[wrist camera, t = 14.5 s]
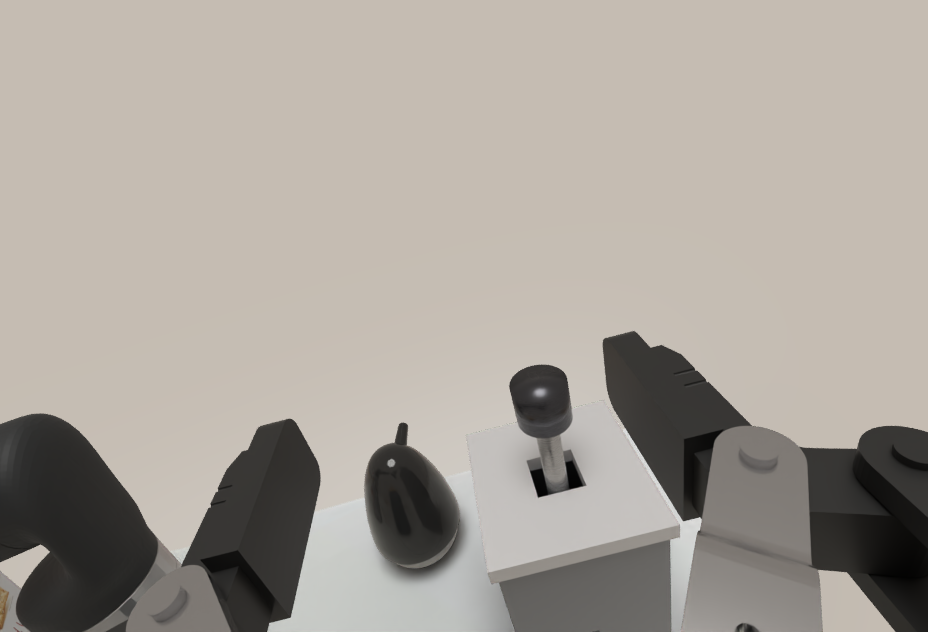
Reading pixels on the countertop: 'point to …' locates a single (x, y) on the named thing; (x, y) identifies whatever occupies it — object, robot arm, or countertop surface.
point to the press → (574, 529)
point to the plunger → (544, 417)
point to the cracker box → (9, 606)
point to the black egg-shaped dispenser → (409, 505)
